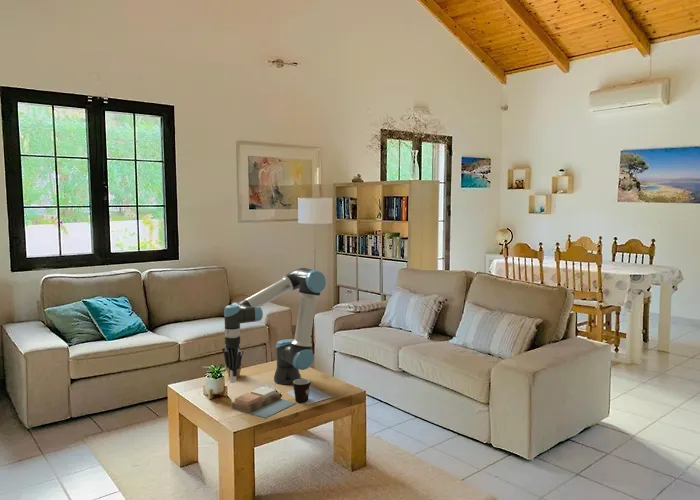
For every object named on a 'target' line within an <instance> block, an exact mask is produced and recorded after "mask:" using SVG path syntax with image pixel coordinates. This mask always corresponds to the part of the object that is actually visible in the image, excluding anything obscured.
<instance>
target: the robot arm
mask: <svg viewBox="0 0 700 500" xmlns="http://www.w3.org/2000/svg"><path fill="white" fill-rule="evenodd" d="M326 285H327V281H326V277H325V275H324V273H322V272H321V271H319V270H317V269H313V268H306V267H300V268H297V269H294V270H292V271H290V272H288V273H287V274H285V275H283V276H282V278H281V279H279V280H277V281H276V282H274V283H273V284H271V285H269V286H267V287H266V288H265V287H264V288H263V289H261V290H260V291H258V292H256V293H255V294H253V295H250V297H247V298H245V299H243V300H242V301H240V302H238V301H237V302H235V301H234V302H232V303H231V304H229V305H226V306H225V307H224V311H223V312H224V313H223V316H224V317H223V318H224V344H225V347H224V348H222V350H221V351H222V352H223V356H224V357H223V358H224V362H225V365H226V367H227V368H229V375H230V378H229V383H230V384H233V383H236V382H237V378H236V376H237V369H240V365H241V363H242V359H243V355H244V350H241V348H240V344H241V324H246V323H254V322H255V323H256V322H259V321H262V319H263V317H264V316H263V309H262V308H261V307H263V306H264V305H266V304H268V303H270V302H272V301H273V300H275V299H277V298H279V297H281V296H282V295H284V294H285V293H287V292H293V291H294V290H298V294H299V295H300V301H299V302H300V303H299V306H298V308H299V309H298V313H297V320H296V321H297V322H296V326H295V327H296V328H295V331H294V332H295V334H294V338H291V339H289V338H288V339H286V338H285V339H281V340H278V341H277V342H276V343H275V344H276V346H275V349H276V351H275V352H276V369H275V373H274V375H273V381H274V383H276V384H279V385H292V384H293V381H294V380H297V379H302V376H301V375H302V374H301V372H300V371H304V370H308V369H309V368H310V367H311V366H312V365H313V363H314V362H315V355H314V354H315V353H314V352H313V350H312V349H313V344H312V342H311V338H312V337H311V336H312V331H313V324H314V318H315V310H316V306H317V305H316V304H317V299H318V298H319V297H320V296H321V292H323V290H324V289H325V288H326ZM228 364H229V365H228ZM226 367H225V368H226Z"/></svg>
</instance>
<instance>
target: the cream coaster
mask: <svg viewBox="0 0 700 500" xmlns="http://www.w3.org/2000/svg"><path fill="white" fill-rule="evenodd" d="M250 393H251V394H255V395H258V396H261V398H262V399H265V398H267V397H269V396H271V395H273V394H276V393H277V390H276V389H274V388H271V387H267V386H261V387H258V388H255V389H253V390H251V391H250Z"/></svg>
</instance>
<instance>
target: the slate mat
mask: <svg viewBox="0 0 700 500" xmlns="http://www.w3.org/2000/svg"><path fill="white" fill-rule="evenodd" d="M296 404H297V402H296V401H292V400H288V399H285V398H280V399H279V400H277V401H275V402H273V403H271V404H269V405H266V406H264V407H262V408H260V409H258V410H256V411H254V412H252V413H250V414H251V415H253V416H257V417H259V418H263V419H268V418H269V417H272V416H274V415H277V414H278V413H280V412H282V411H284V410H286V409H288V408H289V407H292V406H294V405H296Z"/></svg>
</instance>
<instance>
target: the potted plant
mask: <svg viewBox="0 0 700 500" xmlns="http://www.w3.org/2000/svg"><path fill="white" fill-rule="evenodd" d="M228 365H229V364H228ZM224 367H225V369H226V372H227V375H228V378H229V379H230V375H229V368H227V367H226V364H225V366H224ZM242 368H243V363H242V362H241V365H240V369H237V376H236V379H237V378H239V377H240V375H241V370H242Z"/></svg>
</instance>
